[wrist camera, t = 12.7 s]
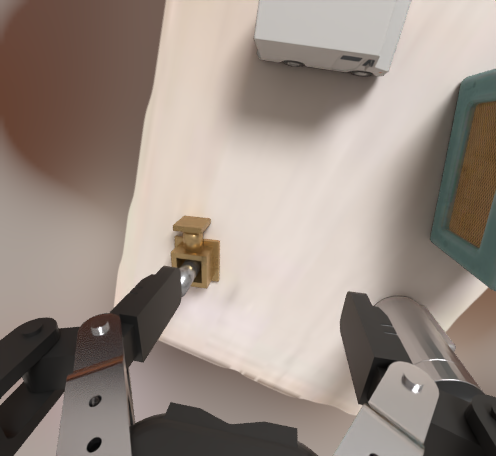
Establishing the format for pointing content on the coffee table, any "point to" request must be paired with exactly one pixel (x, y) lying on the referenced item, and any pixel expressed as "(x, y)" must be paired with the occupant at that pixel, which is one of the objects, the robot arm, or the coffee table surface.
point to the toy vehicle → (331, 33)
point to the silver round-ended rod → (189, 273)
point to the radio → (470, 182)
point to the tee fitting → (197, 249)
